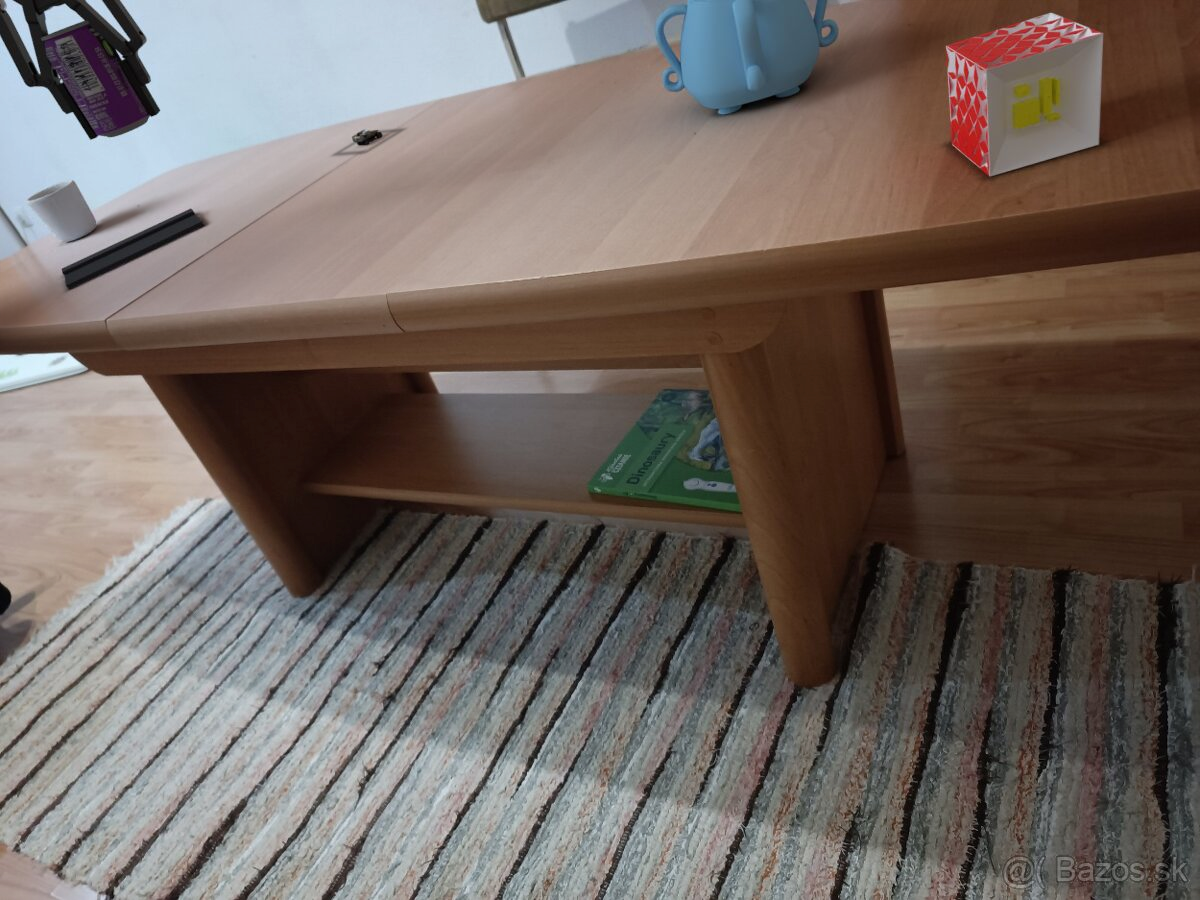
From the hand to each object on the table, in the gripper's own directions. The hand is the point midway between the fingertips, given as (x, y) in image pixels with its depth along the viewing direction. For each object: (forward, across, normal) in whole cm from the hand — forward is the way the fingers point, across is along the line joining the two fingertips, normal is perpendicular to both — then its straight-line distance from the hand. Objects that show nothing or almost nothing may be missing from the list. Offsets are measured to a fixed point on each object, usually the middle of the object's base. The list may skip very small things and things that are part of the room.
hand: (125, 124), depth 107 cm
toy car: (+17, -25, -22) cm, 38 cm away
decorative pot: (+17, -70, +27) cm, 77 cm away
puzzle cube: (+17, -76, +64) cm, 101 cm away
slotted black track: (+17, +12, -13) cm, 24 cm away
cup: (+17, +26, -38) cm, 50 cm away
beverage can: (+1, 0, 0) cm, 1 cm away
